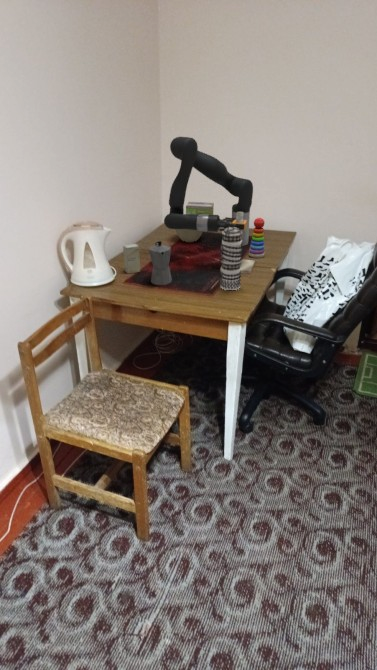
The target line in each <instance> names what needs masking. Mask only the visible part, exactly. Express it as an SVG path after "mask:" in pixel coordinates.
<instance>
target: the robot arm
mask: <svg viewBox="0 0 377 670" xmlns="http://www.w3.org/2000/svg"><path fill="white" fill-rule="evenodd" d="M169 147H170V148H169V149H170V152H171V154H172V156H173V157H174V158H176V159H178V160H179V161H180V168H179V170H178V173H177V175H176V177H175V178H174V180H173V182H172V183H171V184H172V185H171V187H170V192H169V197H168V205H169V213H168V214H167V215H165V217H164V219H163V223H164V225H165V227H166V228H167V229H170V230H175V229H189V230H200V231H203V232H207V231H208V232H209V233H218V232H219V231H220V232H222V231H224V230H225V229H226V228H228V227H236V228H239V230H243V235H242V242H243V245H242V246H243V247H244V246H247V245H248V244H249V234H250V232H249V231H250V215H251V214H250V213H251V207H252V204H253V194H254V185H253V182H252V181H251V180H250V179H248V178H247V179H246V178H242V177H238V176H236V175H233V174H232V173H230V171H228V169H227V166H226V165H225V164H224V163H223V162H221V160H219V159H218V158H216V157H215V156H212V155H211V154H210V155H209V154H208V153H205V152H203V151H200V150H199V149H198V142H197V141H196V140H195V138H193V137H189V136H177V137H175V138H173V139H172V140H171V141H170V145H169ZM193 169H194V170H196V171H198V172H199V173H200V174H202V175H204V176H205V177H206V178H207V179H209V180H211V181H213V182H214V183H215V184H217V185H219V186H221V187H223V188H224V189H225V190H226V191H227V192H228V193H229V194H231V195H232V196H234V197H235V198H236V197H237V198H238V201H237V203H235V204H232V206H231V217H228V216H227V217H226V216H225V218H223V219H222V218H220V215H219V214H213V215H210V214H187V215H184V212H185V211H184V205H185V200H186V194H187V193H186V192H187V189H188V184H189V180H190V177H191V174H192V171H193ZM237 212H243V220H247V227H246V229H245V230H244V225H243V224H236V225H235V224H232V223H233V221H234V220H236V216H237Z"/></svg>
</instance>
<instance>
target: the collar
mask: <svg viewBox="0 0 377 670" xmlns="http://www.w3.org/2000/svg"><path fill="white" fill-rule="evenodd" d="M232 224H235V225H236V224H243V225H244V230H245V229H246V227H247V220H243V223H236V220H234V221H233V223H232Z"/></svg>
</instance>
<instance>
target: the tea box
mask: <svg viewBox="0 0 377 670" xmlns="http://www.w3.org/2000/svg"><path fill="white" fill-rule="evenodd" d="M185 214H210V215H214V202H201V201H199V202H198V201H188V203H187V204H186V205H185Z"/></svg>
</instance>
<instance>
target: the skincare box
mask: <svg viewBox="0 0 377 670" xmlns="http://www.w3.org/2000/svg"><path fill="white" fill-rule="evenodd" d="M122 246H123V247H122V248H123V262H124V271H125V272H126V273H127V274H133V273H134V274H135V273H139V272H141V263H140V262H141V260H140V257H141V256H140V246H139V245H138V244H137V243H132V244H124V245H122Z"/></svg>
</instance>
